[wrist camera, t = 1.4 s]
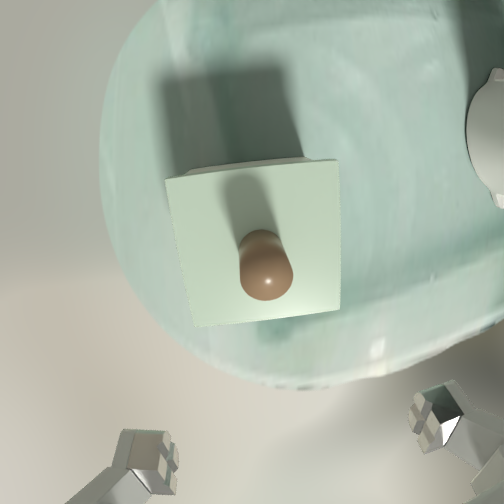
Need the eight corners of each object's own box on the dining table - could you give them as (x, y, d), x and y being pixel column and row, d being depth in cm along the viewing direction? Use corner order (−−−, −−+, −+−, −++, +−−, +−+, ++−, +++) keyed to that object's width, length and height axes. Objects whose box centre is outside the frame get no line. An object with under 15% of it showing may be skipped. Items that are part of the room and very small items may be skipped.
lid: (328, 157, 23) (361, 168, 17) (331, 295, 28) (356, 340, 21) (171, 174, 23) (148, 192, 17) (197, 311, 27) (188, 362, 21)
